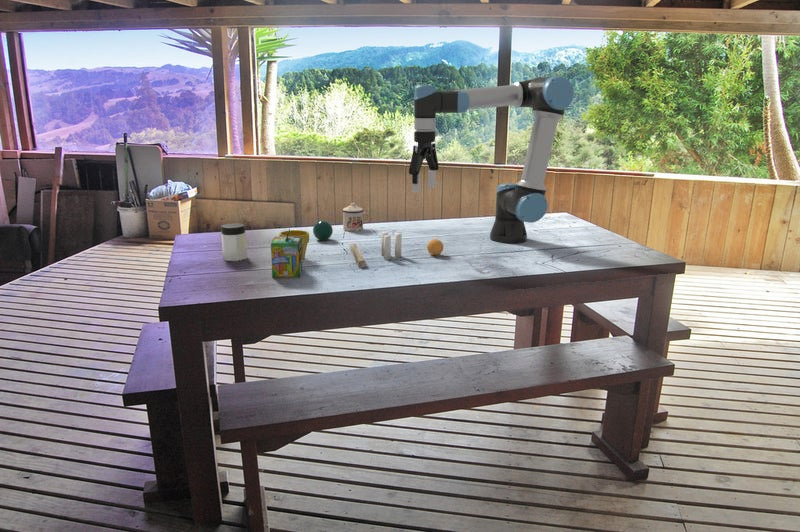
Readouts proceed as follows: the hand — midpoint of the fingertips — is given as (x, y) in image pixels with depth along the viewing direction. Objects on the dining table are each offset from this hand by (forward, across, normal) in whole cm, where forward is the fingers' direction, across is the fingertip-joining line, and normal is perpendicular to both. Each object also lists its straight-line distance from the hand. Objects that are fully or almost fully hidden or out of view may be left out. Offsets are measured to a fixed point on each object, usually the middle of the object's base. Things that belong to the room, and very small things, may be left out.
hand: (424, 190), depth 208 cm
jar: (+23, +41, -55) cm, 72 cm away
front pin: (+23, +10, -6) cm, 26 cm away
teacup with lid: (+24, -22, -43) cm, 53 cm away
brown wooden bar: (+23, +20, -17) cm, 35 cm away
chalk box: (+23, +47, -27) cm, 59 cm away
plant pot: (+23, +32, -35) cm, 53 cm away
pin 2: (+23, +15, -7) cm, 29 cm away
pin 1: (+23, +11, -11) cm, 28 cm away
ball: (+20, +1, +5) cm, 21 cm away
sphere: (+23, +3, -44) cm, 50 cm away
